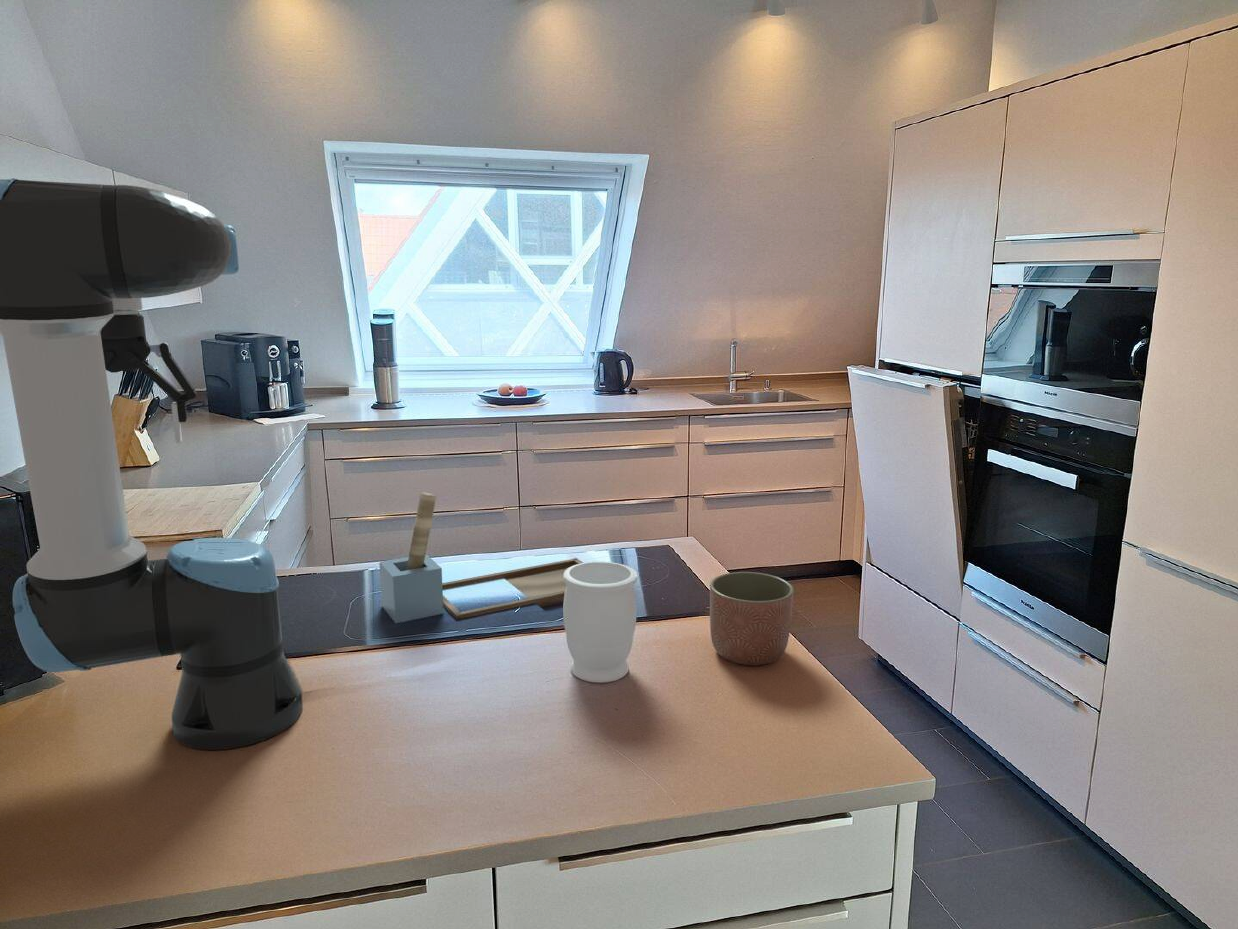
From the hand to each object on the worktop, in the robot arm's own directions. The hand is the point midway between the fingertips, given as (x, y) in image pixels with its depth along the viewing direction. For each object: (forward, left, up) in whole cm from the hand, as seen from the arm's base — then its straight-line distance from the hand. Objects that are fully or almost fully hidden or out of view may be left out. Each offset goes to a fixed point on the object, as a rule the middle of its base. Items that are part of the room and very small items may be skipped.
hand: (132, 445), depth 134 cm
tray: (-26, -57, -28) cm, 69 cm away
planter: (-65, -77, -28) cm, 105 cm away
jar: (-58, -55, -28) cm, 85 cm away
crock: (-26, -37, -28) cm, 53 cm away
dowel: (-26, -39, -27) cm, 54 cm away
